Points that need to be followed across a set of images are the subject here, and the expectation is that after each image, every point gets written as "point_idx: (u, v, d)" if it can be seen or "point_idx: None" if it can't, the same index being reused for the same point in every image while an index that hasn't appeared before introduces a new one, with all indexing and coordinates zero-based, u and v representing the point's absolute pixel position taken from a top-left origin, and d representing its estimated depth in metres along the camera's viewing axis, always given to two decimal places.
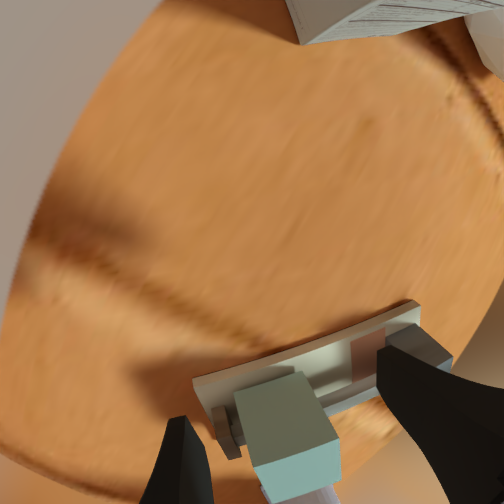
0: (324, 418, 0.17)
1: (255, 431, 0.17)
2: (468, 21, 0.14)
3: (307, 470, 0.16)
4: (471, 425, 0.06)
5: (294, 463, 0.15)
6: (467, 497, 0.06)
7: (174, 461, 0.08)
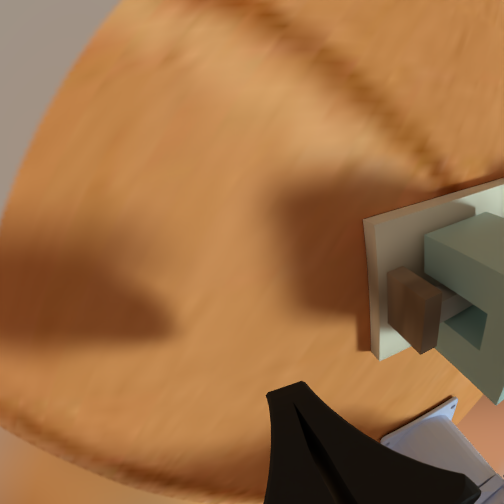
0: None
1: (493, 258, 0.10)
2: None
3: None
4: (349, 493, 0.05)
5: None
6: None
7: (293, 430, 0.08)
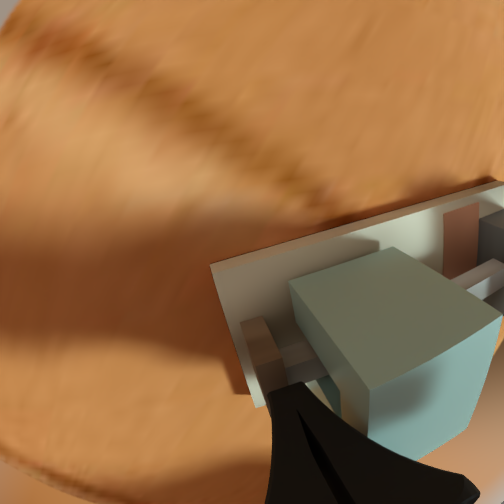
0: (463, 292, 0.09)
1: (348, 325, 0.09)
2: None
3: (443, 401, 0.08)
4: (348, 494, 0.05)
5: (436, 377, 0.07)
6: None
7: (295, 429, 0.08)
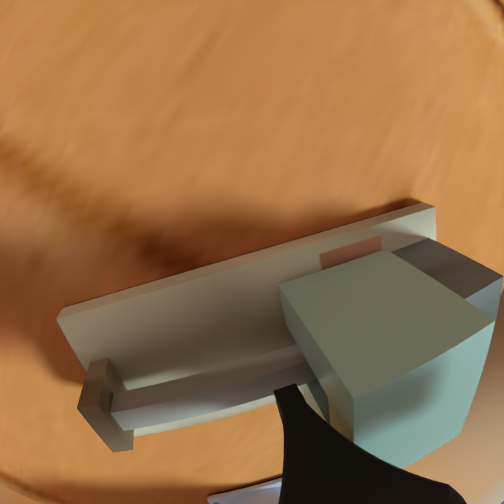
0: (454, 297, 0.09)
1: (335, 331, 0.09)
2: None
3: (433, 408, 0.08)
4: (332, 500, 0.05)
5: (424, 385, 0.07)
6: None
7: (306, 425, 0.08)
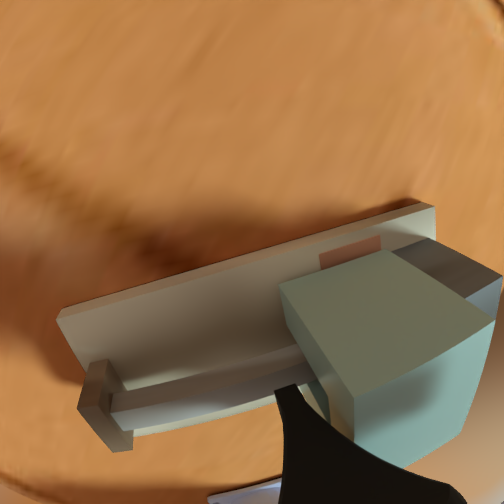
0: (455, 297, 0.09)
1: (336, 331, 0.09)
2: None
3: (433, 408, 0.08)
4: (332, 500, 0.05)
5: (424, 384, 0.07)
6: None
7: (306, 425, 0.08)
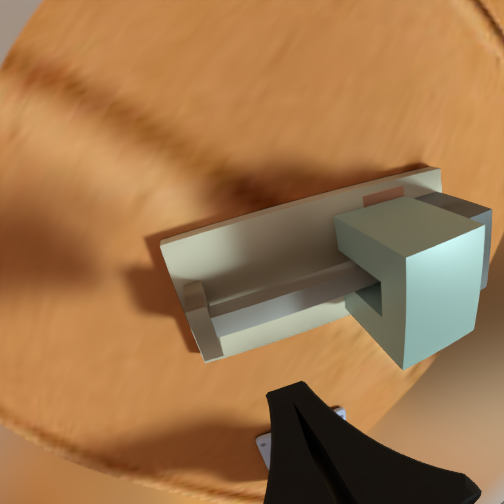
0: (457, 216, 0.13)
1: (383, 233, 0.14)
2: None
3: (453, 288, 0.13)
4: (349, 493, 0.05)
5: (445, 261, 0.12)
6: None
7: (293, 430, 0.08)
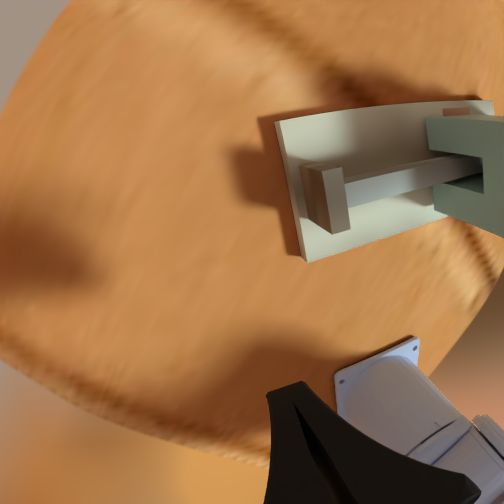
0: None
1: (477, 118, 0.13)
2: None
3: None
4: (349, 493, 0.05)
5: None
6: None
7: (293, 430, 0.08)
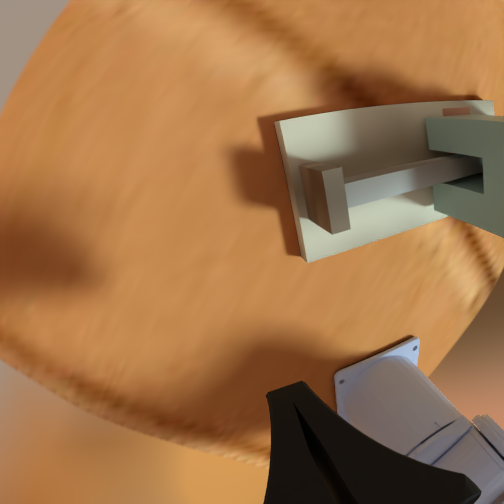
0: None
1: (477, 118, 0.13)
2: None
3: None
4: (349, 493, 0.05)
5: None
6: None
7: (293, 430, 0.08)
